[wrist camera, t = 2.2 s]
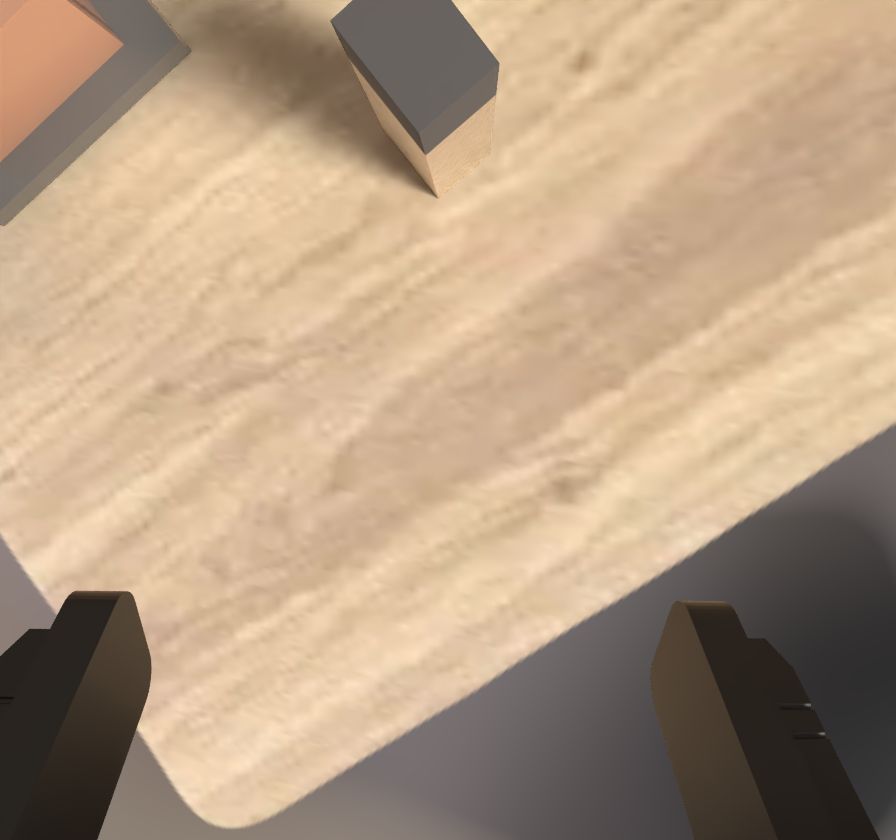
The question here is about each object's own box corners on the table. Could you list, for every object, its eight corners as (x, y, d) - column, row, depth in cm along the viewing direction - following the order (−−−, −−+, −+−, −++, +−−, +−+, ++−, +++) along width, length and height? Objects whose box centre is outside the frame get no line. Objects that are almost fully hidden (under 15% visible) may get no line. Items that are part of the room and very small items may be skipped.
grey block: (433, 83, 32) (410, -53, 20) (489, 154, 32) (499, 63, 21) (382, 127, 32) (330, 20, 21) (438, 198, 33) (419, 133, 21)
